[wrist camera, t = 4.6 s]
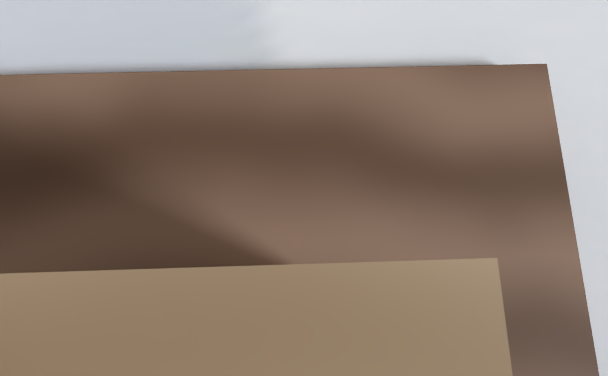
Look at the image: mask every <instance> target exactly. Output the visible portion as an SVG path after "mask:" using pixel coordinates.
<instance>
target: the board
mask: <svg viewBox="0 0 608 376" xmlns="http://www.w3.org/2000/svg"><path fill="white" fill-rule="evenodd" d="M478 258H497V259H498V267H499V274H500V282H501V290H502V297H503V305H504V313H505V320H506V328H507V336H508V344H509V351H510V359H511V367H512V374H513V376H599V372H598V366H597V360H596V354H595V348H594V342H593V336H592V330H591V325H590V319H589V313H588V307H587V301H586V295H585V289H584V283H583V277H582V271H581V265H580V259H579V253H578V247H577V241H576V235H575V229H574V224H573V218H572V212H571V206H570V200H569V194H568V188H567V182H566V176H565V170H564V164H563V158H562V152H561V146H560V140H559V134H558V128H557V123H556V117H555V111H554V105H553V99H552V93H551V87H550V81H549V75H548V69H547V64H516V65H467V66H417V67H368V68H319V69H270V70H221V71H172V72H123V73H74V74H25V75H0V274H4V273H36V272H67V271H99V270H130V269H162V268H194V267H225V266H257V265H288V264H320V263H352V262H383V261H415V260H446V259H478Z"/></svg>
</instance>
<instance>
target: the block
mask: <svg viewBox="0 0 608 376" xmlns="http://www.w3.org/2000/svg"><path fill="white" fill-rule="evenodd" d="M0 376H513V374H512V367H511V359H510V351H509V344H508V336H507V328H506V320H505V313H504V305H503V297H502V290H501V282H500V274H499V267H498V259H497V258H478V259H446V260H415V261H383V262H352V263H320V264H288V265H257V266H225V267H194V268H162V269H130V270H99V271H67V272H36V273H4V274H0Z"/></svg>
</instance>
